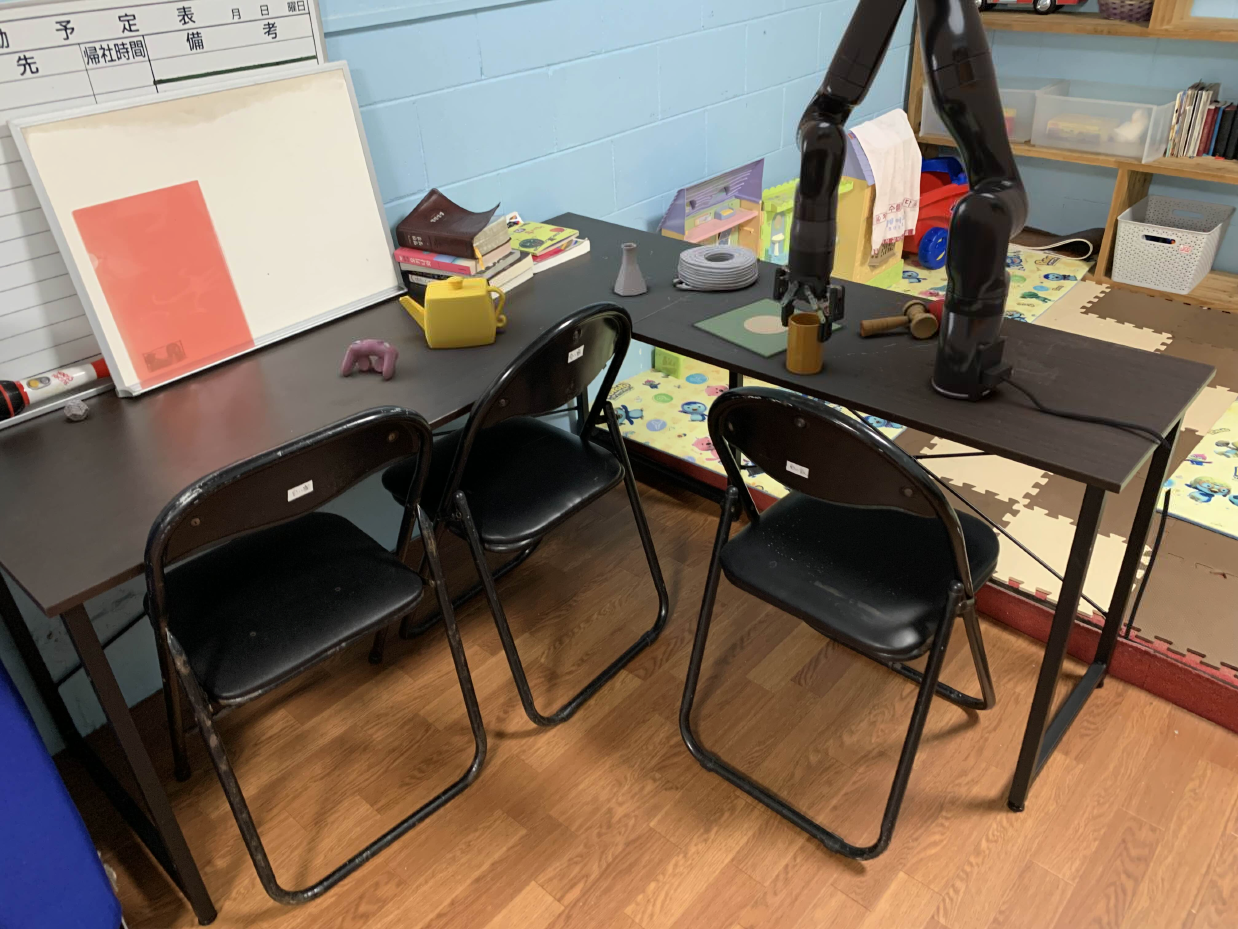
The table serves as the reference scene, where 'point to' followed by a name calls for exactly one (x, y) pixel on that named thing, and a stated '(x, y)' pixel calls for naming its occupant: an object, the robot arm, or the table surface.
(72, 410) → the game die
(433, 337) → the teapot
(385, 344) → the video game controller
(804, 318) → the cup
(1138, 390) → the table surface
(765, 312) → the mat
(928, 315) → the kendama
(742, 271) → the cable
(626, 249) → the flask
